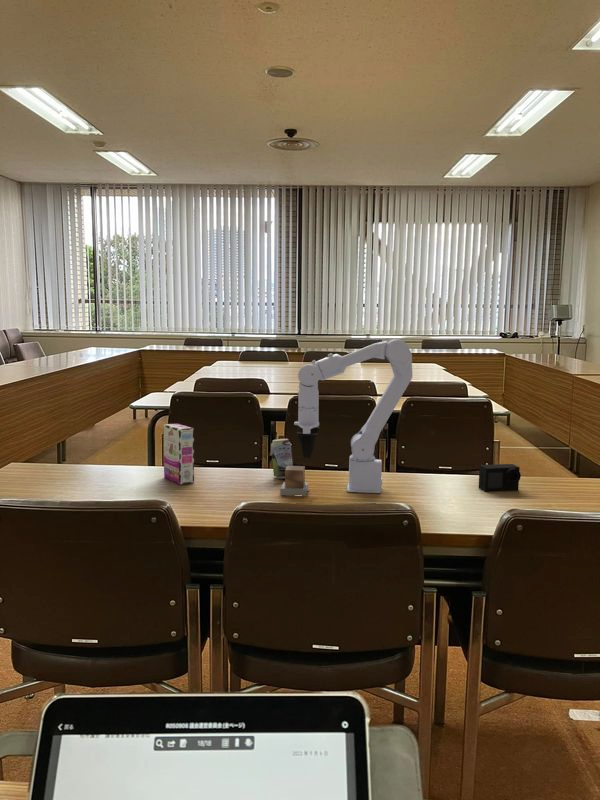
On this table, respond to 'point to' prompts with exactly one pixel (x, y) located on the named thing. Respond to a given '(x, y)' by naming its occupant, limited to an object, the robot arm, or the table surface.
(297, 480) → the walnut block
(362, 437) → the robot arm
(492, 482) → the digital camera
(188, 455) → the candy bar box
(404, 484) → the table surface
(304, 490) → the plinth
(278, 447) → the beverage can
